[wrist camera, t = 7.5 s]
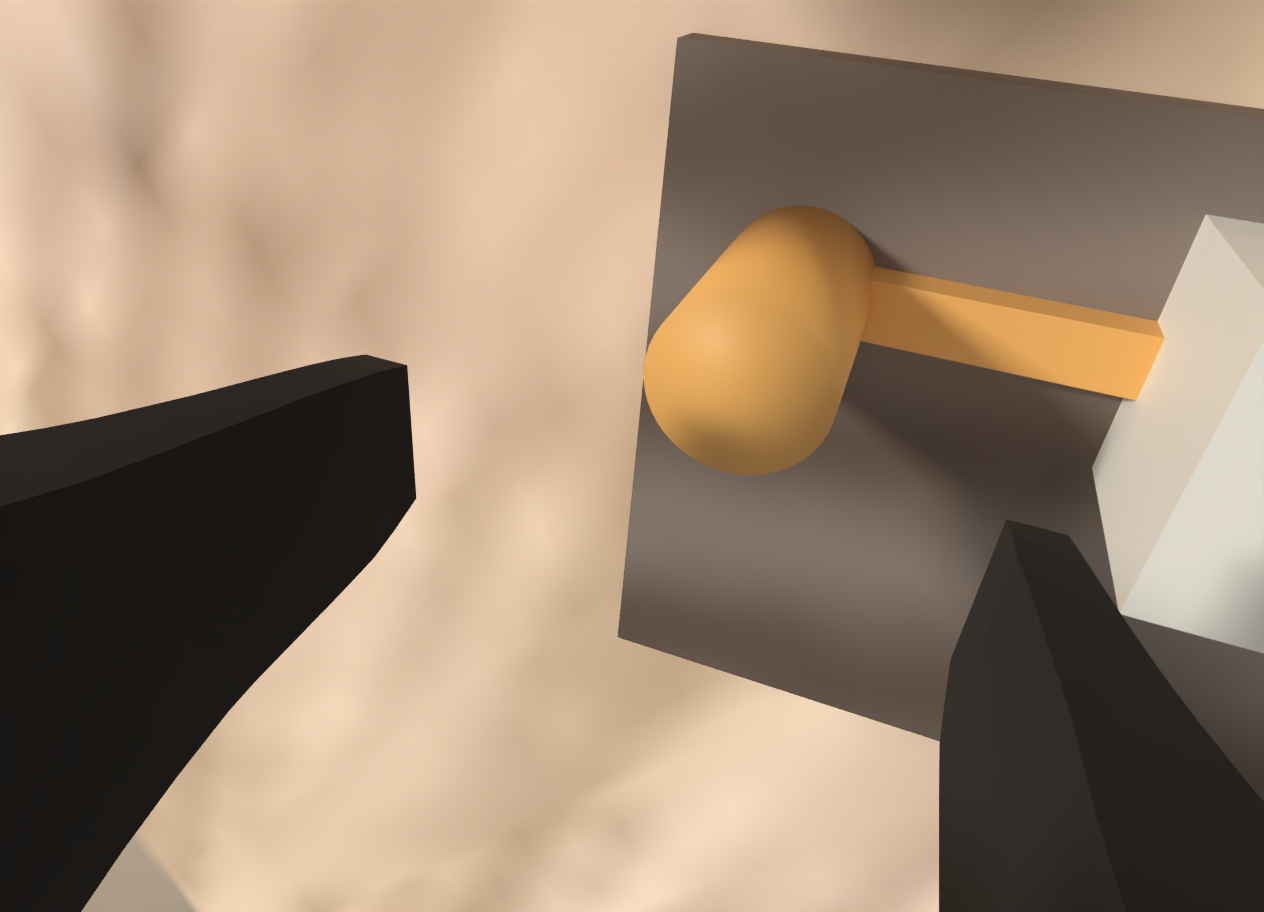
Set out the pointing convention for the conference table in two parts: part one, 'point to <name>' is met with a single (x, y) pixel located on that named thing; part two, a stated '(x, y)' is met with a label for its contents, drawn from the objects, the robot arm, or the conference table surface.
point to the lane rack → (920, 366)
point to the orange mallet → (1014, 343)
